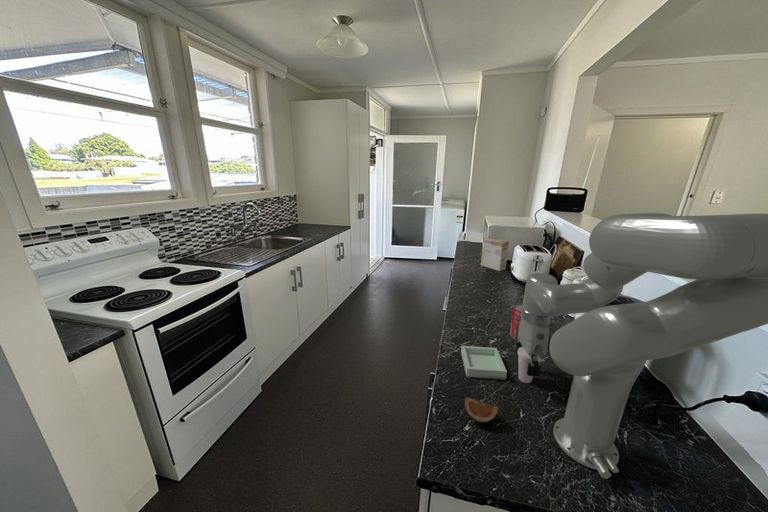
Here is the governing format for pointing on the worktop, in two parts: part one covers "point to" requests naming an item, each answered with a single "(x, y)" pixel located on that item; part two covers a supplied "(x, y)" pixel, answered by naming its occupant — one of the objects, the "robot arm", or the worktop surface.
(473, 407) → the fruit slice
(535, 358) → the smoothie
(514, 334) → the soda can
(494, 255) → the coffeecake box
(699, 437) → the worktop surface
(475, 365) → the tray
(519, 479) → the worktop surface
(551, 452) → the worktop surface
